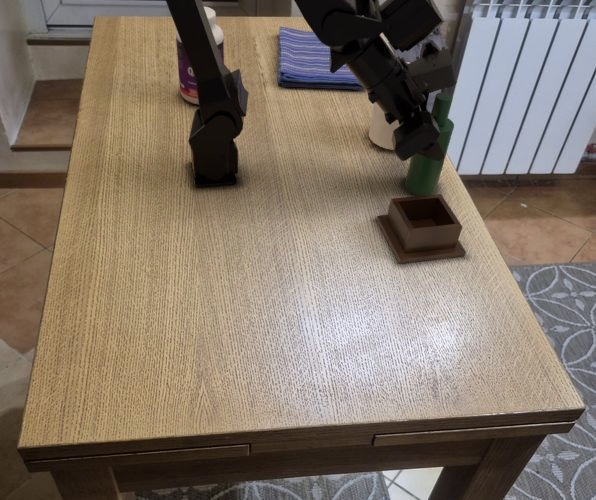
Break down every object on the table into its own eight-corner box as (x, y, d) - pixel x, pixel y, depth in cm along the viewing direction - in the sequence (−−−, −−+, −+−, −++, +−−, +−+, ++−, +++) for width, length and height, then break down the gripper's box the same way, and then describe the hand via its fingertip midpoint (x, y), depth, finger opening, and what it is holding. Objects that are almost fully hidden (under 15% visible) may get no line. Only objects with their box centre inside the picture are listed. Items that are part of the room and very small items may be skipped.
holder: (399, 263, 86) (405, 238, 82) (376, 219, 92) (381, 194, 88) (464, 256, 88) (473, 230, 84) (437, 213, 94) (444, 188, 90)
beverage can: (389, 157, 103) (403, 88, 94) (358, 135, 107) (369, 66, 98) (423, 144, 107) (440, 76, 98) (393, 123, 111) (406, 56, 102)
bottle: (419, 199, 96) (444, 108, 85) (398, 183, 98) (419, 92, 87) (442, 190, 98) (469, 100, 87) (420, 174, 100) (443, 84, 89)
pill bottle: (187, 109, 109) (180, 24, 98) (175, 88, 114) (168, 4, 103) (230, 104, 111) (229, 20, 100) (217, 83, 116) (215, 1, 105)
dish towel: (277, 88, 116) (277, 73, 114) (277, 35, 132) (277, 21, 130) (367, 93, 117) (369, 78, 115) (356, 40, 133) (358, 26, 131)
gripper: (441, 64, 74) (501, 151, 83) (420, 3, 86) (475, 85, 95) (366, 120, 80) (430, 197, 89) (357, 56, 92) (414, 129, 101)
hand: (439, 149), depth 93 cm, fingers closed on bottle, 5 cm apart
